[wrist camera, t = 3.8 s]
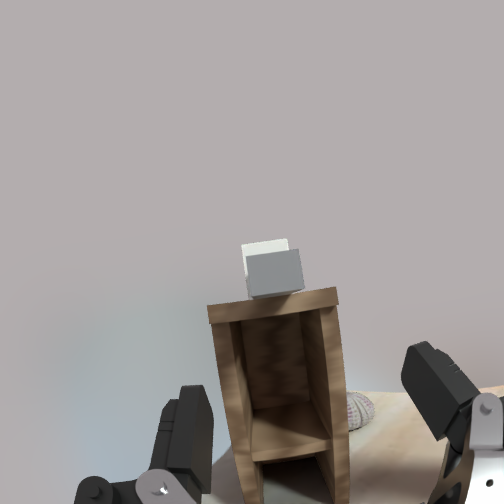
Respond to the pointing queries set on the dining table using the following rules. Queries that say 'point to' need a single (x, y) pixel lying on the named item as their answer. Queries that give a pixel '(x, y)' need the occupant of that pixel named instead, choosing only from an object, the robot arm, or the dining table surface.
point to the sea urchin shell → (358, 410)
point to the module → (272, 269)
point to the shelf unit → (284, 386)
